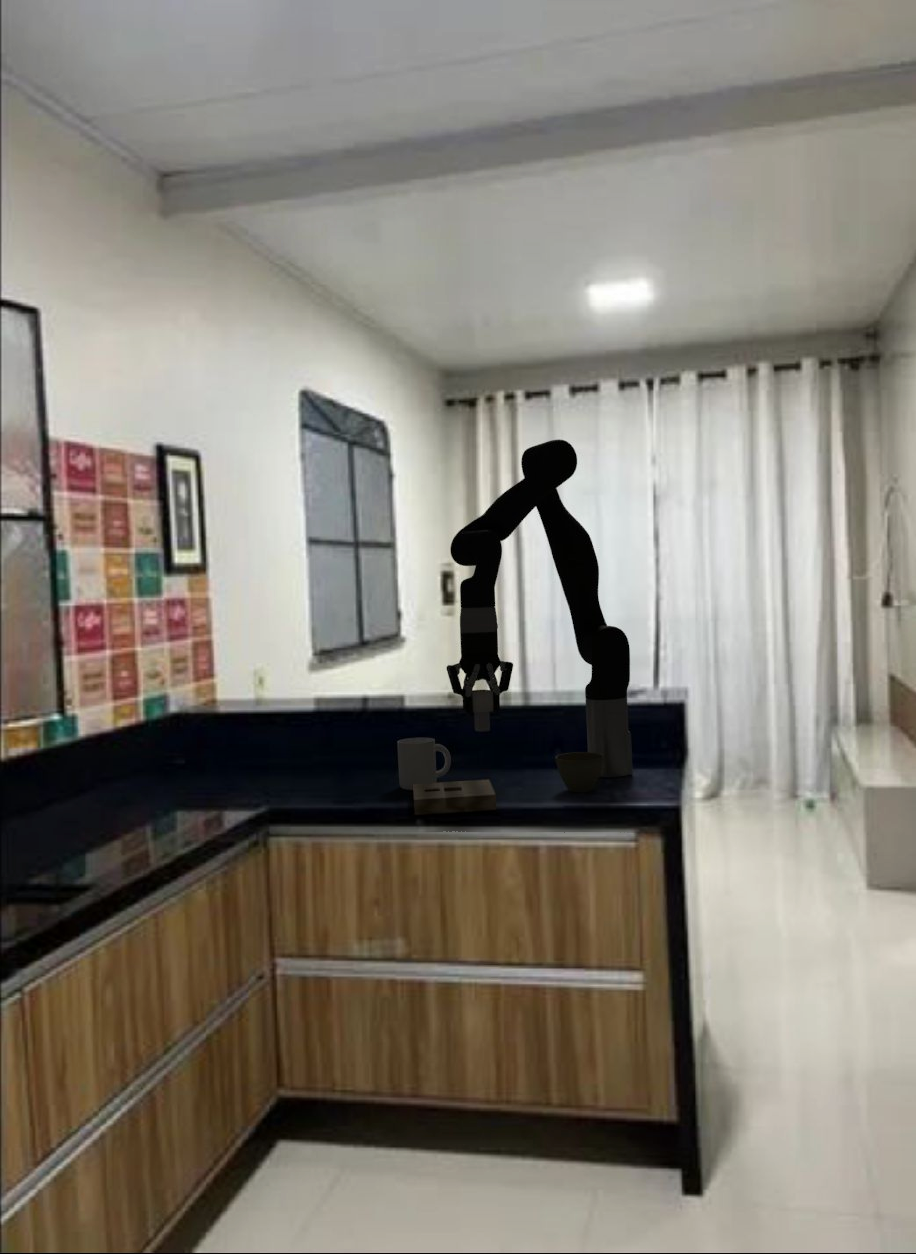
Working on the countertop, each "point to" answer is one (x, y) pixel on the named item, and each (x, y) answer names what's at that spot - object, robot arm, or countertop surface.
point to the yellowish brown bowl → (579, 770)
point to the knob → (482, 708)
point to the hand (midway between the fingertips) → (481, 713)
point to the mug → (419, 761)
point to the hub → (453, 797)
